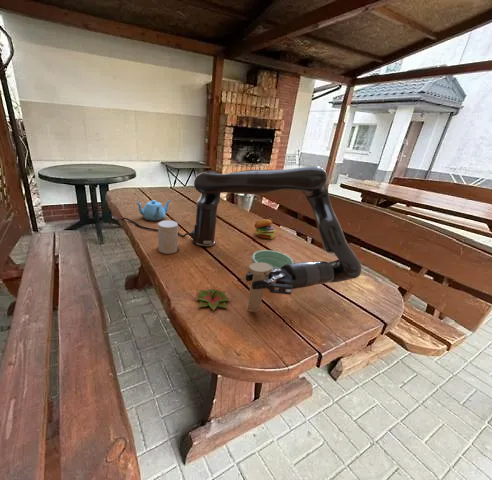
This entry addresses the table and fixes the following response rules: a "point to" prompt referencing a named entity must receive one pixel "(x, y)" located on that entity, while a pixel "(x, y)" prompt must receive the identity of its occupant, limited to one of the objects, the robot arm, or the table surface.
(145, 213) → the teapot
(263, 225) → the cheeseburger
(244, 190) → the robot arm
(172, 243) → the white cylinder
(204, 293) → the lily flower
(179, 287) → the table surface
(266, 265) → the handle
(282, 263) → the pale green bowl
